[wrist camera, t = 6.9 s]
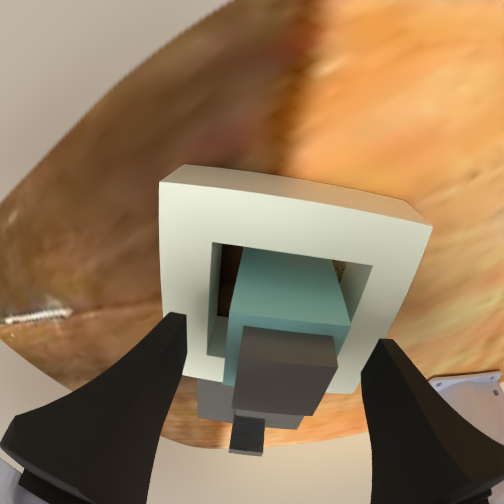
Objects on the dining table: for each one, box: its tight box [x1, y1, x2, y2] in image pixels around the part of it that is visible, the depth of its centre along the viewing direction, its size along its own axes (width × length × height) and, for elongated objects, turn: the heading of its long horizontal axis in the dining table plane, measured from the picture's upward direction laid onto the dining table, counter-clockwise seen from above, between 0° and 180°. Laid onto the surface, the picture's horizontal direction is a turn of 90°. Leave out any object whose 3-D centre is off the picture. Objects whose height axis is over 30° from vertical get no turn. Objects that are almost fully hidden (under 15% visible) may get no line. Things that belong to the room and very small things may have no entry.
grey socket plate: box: [197, 378, 304, 456], centre depth 18 cm, size 8×8×4 cm
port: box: [159, 164, 433, 394], centre depth 13 cm, size 10×10×3 cm
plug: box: [223, 247, 351, 416], centre depth 12 cm, size 4×4×7 cm
